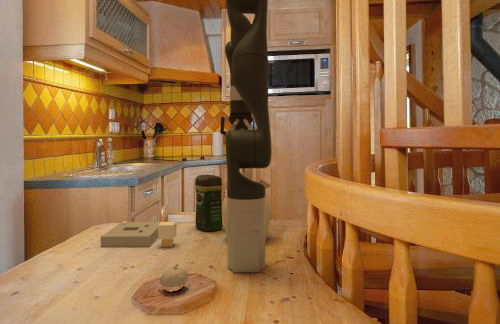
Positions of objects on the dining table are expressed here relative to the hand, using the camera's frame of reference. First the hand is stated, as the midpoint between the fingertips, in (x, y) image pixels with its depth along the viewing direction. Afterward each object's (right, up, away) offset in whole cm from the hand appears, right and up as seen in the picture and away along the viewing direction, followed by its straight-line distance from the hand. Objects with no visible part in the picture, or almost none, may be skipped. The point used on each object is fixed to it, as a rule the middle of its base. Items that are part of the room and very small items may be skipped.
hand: (240, 146), depth 135 cm
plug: (-21, -30, -22) cm, 42 cm away
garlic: (-13, -32, -54) cm, 64 cm away
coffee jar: (-11, -28, -2) cm, 30 cm away
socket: (-33, -29, -14) cm, 46 cm away
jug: (+2, -29, -15) cm, 33 cm away
